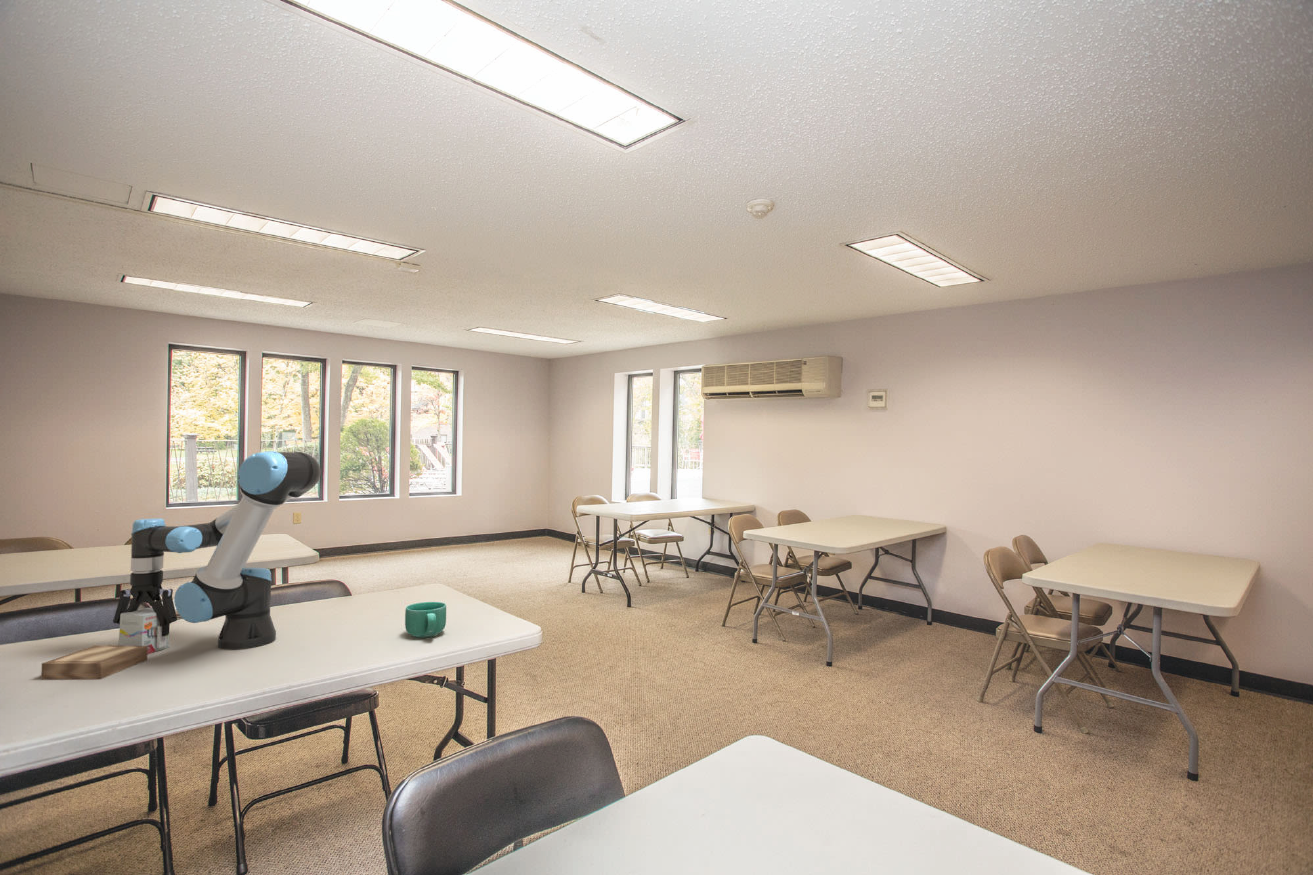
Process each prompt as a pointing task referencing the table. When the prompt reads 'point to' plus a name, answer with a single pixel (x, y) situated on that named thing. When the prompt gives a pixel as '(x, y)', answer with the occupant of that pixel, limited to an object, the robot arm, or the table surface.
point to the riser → (94, 662)
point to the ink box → (140, 629)
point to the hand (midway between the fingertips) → (144, 646)
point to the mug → (425, 619)
